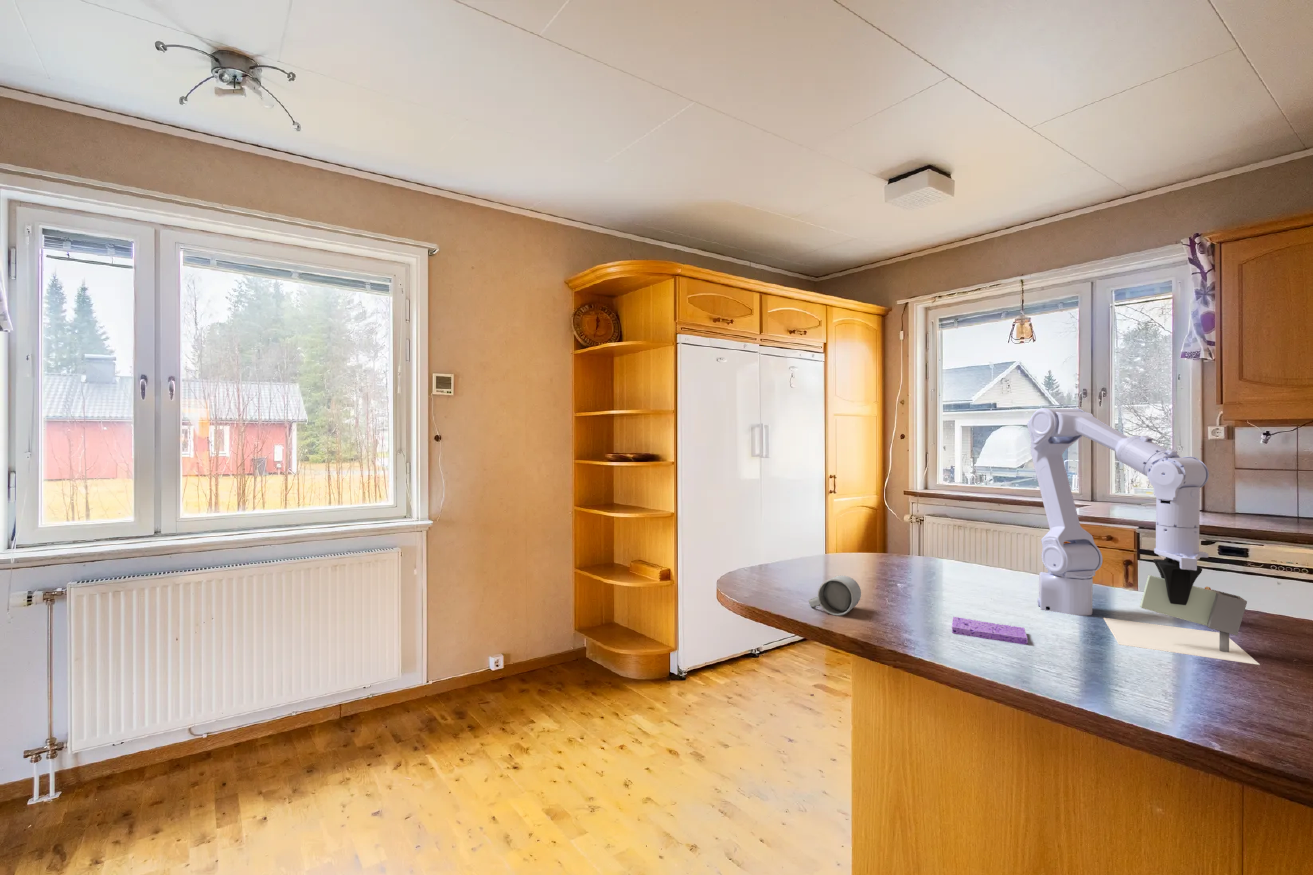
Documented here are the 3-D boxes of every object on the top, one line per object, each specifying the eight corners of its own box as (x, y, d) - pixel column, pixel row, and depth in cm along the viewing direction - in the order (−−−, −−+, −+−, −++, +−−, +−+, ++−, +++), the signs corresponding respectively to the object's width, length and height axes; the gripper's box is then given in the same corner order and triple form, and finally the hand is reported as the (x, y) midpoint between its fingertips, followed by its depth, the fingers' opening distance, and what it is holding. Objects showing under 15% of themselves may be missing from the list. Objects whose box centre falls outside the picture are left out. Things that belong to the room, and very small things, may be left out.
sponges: (952, 625, 119) (953, 616, 119) (1025, 636, 113) (1026, 626, 113) (951, 635, 113) (951, 626, 113) (1028, 647, 107) (1028, 637, 107)
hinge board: (1119, 652, 103) (1119, 624, 103) (1102, 624, 118) (1103, 600, 118) (1260, 673, 94) (1260, 642, 94) (1223, 640, 109) (1223, 614, 109)
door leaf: (1142, 609, 104) (1151, 577, 103) (1138, 604, 107) (1146, 573, 106) (1237, 635, 98) (1247, 601, 97) (1229, 629, 101) (1239, 596, 100)
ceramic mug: (863, 608, 129) (862, 573, 129) (853, 618, 122) (852, 581, 122) (815, 601, 134) (815, 568, 134) (803, 611, 127) (803, 575, 127)
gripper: (1222, 533, 95) (1221, 617, 95) (1194, 521, 107) (1194, 595, 107) (1165, 530, 98) (1164, 610, 98) (1145, 518, 111) (1144, 590, 111)
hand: (1176, 602), depth 103 cm, fingers closed on door leaf
